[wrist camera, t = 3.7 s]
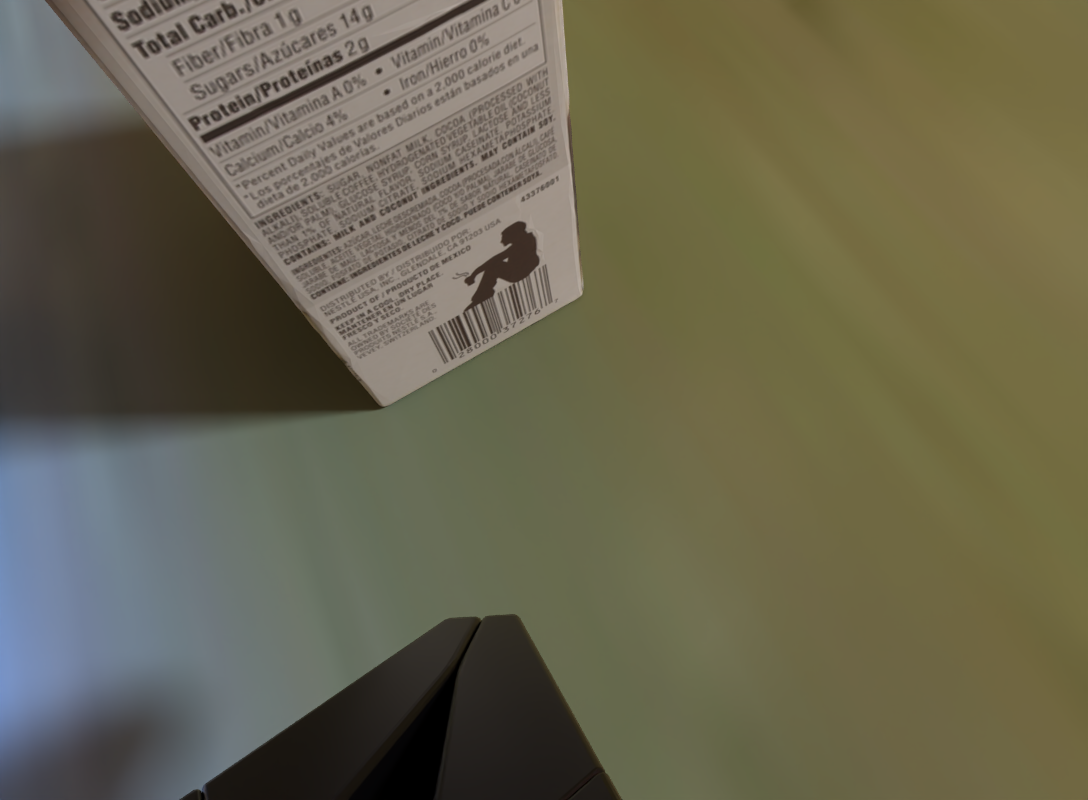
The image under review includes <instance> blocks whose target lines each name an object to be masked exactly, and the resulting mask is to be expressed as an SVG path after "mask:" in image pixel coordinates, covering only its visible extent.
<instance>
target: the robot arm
mask: <svg viewBox="0 0 1088 800" xmlns="http://www.w3.org/2000/svg"><path fill="white" fill-rule="evenodd" d="M180 800H622V799H621V797H620V795H619V793H618V792H617V790H616V788H615V786H614V785H613V783H612V781H611V779H610V777H609V776H608V775H607V774H606V773H605V770H604V769H603V767H602V765H601V763H600V761H599V760H598V758H597V756H596V754H595V752H594V751H593V749H592V747H591V745H590V743H589V741H588V740H587V738H586V736H585V734H584V732H583V731H582V729H581V727H580V725H579V723H578V722H577V720H576V718H575V716H574V714H573V713H572V711H571V709H570V707H569V705H568V704H567V702H566V700H565V698H564V696H563V695H562V693H561V691H560V689H559V687H558V686H557V684H556V682H555V680H554V678H553V677H552V675H551V673H550V671H549V669H548V668H547V666H546V664H545V662H544V660H543V659H542V657H541V655H540V653H539V651H538V650H537V648H536V646H535V644H534V642H533V641H532V639H531V637H530V635H529V633H528V632H527V630H526V628H525V626H524V624H523V623H522V621H521V619H520V618H519V617H518V616H517V615H515V614H509V615H493V616H486V617H484V618H483V620H481V619H480V618H478V617H459V618H448V619H446V620H444V621H442V622H441V623H440V624H438V625H437V626H435V627H434V628H432V629H431V630H429V631H428V632H426V633H425V634H423V635H422V636H421V637H419V638H418V639H416V640H415V641H413V642H412V643H410V644H409V645H407V646H406V647H404V648H403V649H402V650H400V651H399V652H397V653H396V654H394V655H393V656H391V657H390V658H388V659H387V660H385V661H384V662H383V663H381V664H380V665H378V666H377V667H375V668H374V669H372V670H371V671H369V672H368V673H366V674H365V675H364V676H362V677H361V678H359V679H358V680H356V681H355V682H353V683H352V684H350V685H349V686H347V687H346V688H345V689H343V690H342V691H340V692H339V693H337V694H336V695H334V696H333V697H331V698H330V699H328V700H327V701H326V702H324V703H323V704H321V705H320V706H318V707H317V708H315V709H314V710H312V711H311V712H309V713H308V714H307V715H305V716H304V717H302V718H301V719H299V720H298V721H296V722H295V723H293V724H292V725H290V726H289V727H288V728H286V729H285V730H283V731H282V732H280V733H279V734H277V735H276V736H274V737H273V738H271V739H270V740H269V741H267V742H266V743H264V744H263V745H261V746H260V747H258V748H257V749H255V750H254V751H252V752H251V753H250V754H248V755H247V756H245V757H244V758H242V759H241V760H239V761H238V762H236V763H235V764H233V765H232V766H231V767H229V768H228V769H226V770H225V771H223V772H222V773H220V774H219V775H217V776H216V777H214V778H213V779H212V780H210V781H209V782H207V783H206V784H205V785H204V786H203V788H202V792H201V791H200V790H198V789H196V790H193V791H191V792H190V793H189V794H187V795H186V796H184V797H183V798H181V799H180Z"/></svg>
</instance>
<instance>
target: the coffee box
mask: <svg viewBox="0 0 1088 800" xmlns="http://www.w3.org/2000/svg"><path fill="white" fill-rule="evenodd" d="M45 1H46V2H47V3H48V5H49V6H50V7H51V8H52V9H53V11H54V12H55V13H56V14H57V15H58V17H59V18H60V19H61V20H62V21H63V23H64V24H65V25H66V26H67V28H68V29H69V30H70V31H71V32H72V34H73V35H74V36H75V37H76V38H77V40H78V41H79V42H80V43H81V45H82V46H83V47H84V48H85V49H86V51H87V52H88V53H89V54H90V55H91V57H92V58H93V59H94V60H95V61H96V63H97V64H98V65H99V66H100V68H101V69H102V70H103V71H104V72H105V74H106V75H107V76H108V77H109V78H110V80H111V81H112V82H113V83H114V85H115V86H116V87H117V88H118V89H119V91H120V92H121V93H122V94H123V95H124V97H125V98H126V99H127V100H128V102H129V103H130V104H131V105H132V106H133V108H134V109H135V110H136V111H137V112H138V114H139V115H140V116H141V117H142V119H143V120H144V121H145V122H146V123H147V125H148V126H149V127H150V128H151V130H152V131H153V132H154V133H155V134H156V136H157V137H158V138H159V139H160V140H161V142H162V143H163V144H164V145H165V147H166V148H167V149H168V150H169V151H170V153H171V154H172V155H173V156H174V157H175V159H176V160H177V161H178V162H179V164H180V165H181V166H182V167H183V168H184V170H185V171H186V172H187V173H188V174H189V176H190V177H191V178H192V179H193V181H194V182H195V183H196V184H197V185H198V187H199V188H200V189H201V190H202V191H203V193H204V194H205V195H206V196H207V198H208V199H209V200H210V201H211V202H212V204H213V205H214V206H215V207H216V208H217V210H218V211H219V212H220V213H221V215H222V216H223V217H224V218H225V219H226V221H227V222H228V223H229V224H230V225H231V227H232V228H233V229H234V230H235V232H236V233H237V234H238V235H239V236H240V238H241V239H242V240H243V241H244V242H245V244H246V245H247V246H248V247H249V248H250V250H251V251H252V252H253V253H254V255H255V256H256V257H257V258H258V259H259V261H260V262H261V263H262V264H263V265H264V267H265V268H266V269H267V270H268V272H269V273H270V274H271V275H272V276H273V278H274V279H275V280H276V281H277V282H278V284H279V285H280V286H281V287H282V289H283V290H284V291H285V292H286V293H287V295H288V296H289V297H290V298H291V300H292V301H293V302H294V303H295V305H296V306H297V307H298V309H299V310H300V311H301V312H302V313H303V315H304V316H305V317H306V319H307V320H308V321H309V323H310V324H311V325H312V326H313V328H314V329H315V330H316V331H317V332H318V333H319V334H320V335H321V336H322V338H323V339H324V340H325V341H326V343H327V344H328V345H329V346H330V348H331V349H332V350H333V351H334V352H335V354H336V355H337V356H338V357H339V359H340V360H341V361H342V362H343V363H344V364H345V365H346V366H347V368H348V369H349V370H350V371H351V373H352V374H353V375H354V376H355V377H356V379H357V380H358V381H359V382H360V383H361V384H362V385H363V387H364V388H365V389H366V390H367V391H368V392H369V394H370V395H371V396H372V397H373V398H374V400H375V401H376V402H377V403H378V404H379V405H380V406H383V407H385V406H389V405H391V404H392V403H394V402H396V401H398V400H399V399H401V398H403V397H405V396H406V395H408V394H410V393H412V392H414V391H415V390H417V389H419V388H421V387H422V386H424V385H426V384H428V383H429V382H431V381H433V380H435V379H437V378H438V377H440V376H442V375H444V374H445V373H447V372H449V371H451V370H452V369H454V368H456V367H458V366H459V365H461V364H463V363H465V362H467V361H468V360H470V359H472V358H474V357H475V356H477V355H479V354H481V353H482V352H484V351H486V350H488V349H489V348H491V347H493V346H495V345H497V344H498V343H500V342H502V341H504V340H505V339H507V338H509V337H511V336H512V335H514V334H516V333H518V332H519V331H521V330H523V329H524V328H526V327H528V326H530V325H531V324H533V323H535V322H537V321H539V320H541V319H542V318H544V317H546V316H548V315H549V314H551V313H553V312H555V311H556V310H558V309H560V308H561V307H563V306H565V305H567V304H569V303H570V302H572V301H574V300H576V299H577V298H579V297H580V296H581V295H582V292H583V274H582V264H581V254H580V242H579V227H578V215H577V200H576V186H575V174H574V163H573V149H572V133H571V121H570V112H569V89H568V77H567V63H566V50H565V37H564V23H563V10H562V0H45Z"/></svg>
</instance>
